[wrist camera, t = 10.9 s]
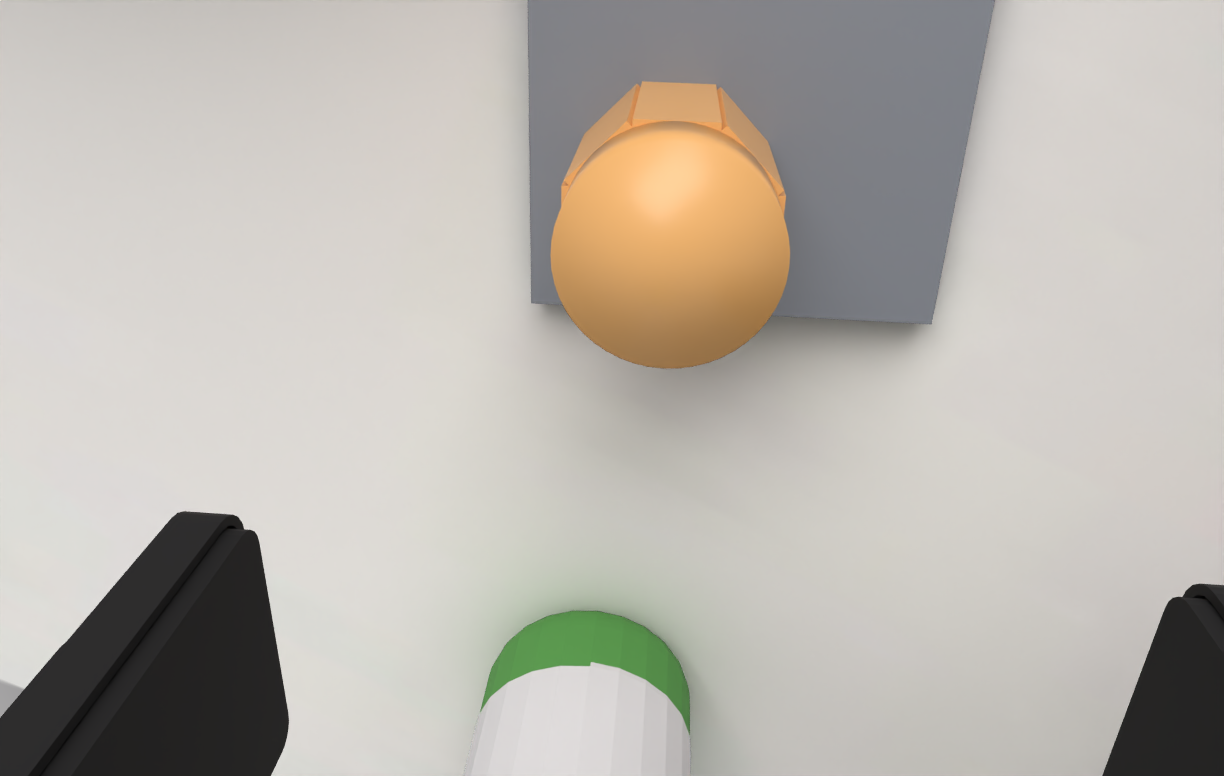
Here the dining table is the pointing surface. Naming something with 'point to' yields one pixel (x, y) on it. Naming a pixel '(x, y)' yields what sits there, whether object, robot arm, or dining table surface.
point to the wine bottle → (583, 703)
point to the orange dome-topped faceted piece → (671, 228)
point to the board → (787, 125)
